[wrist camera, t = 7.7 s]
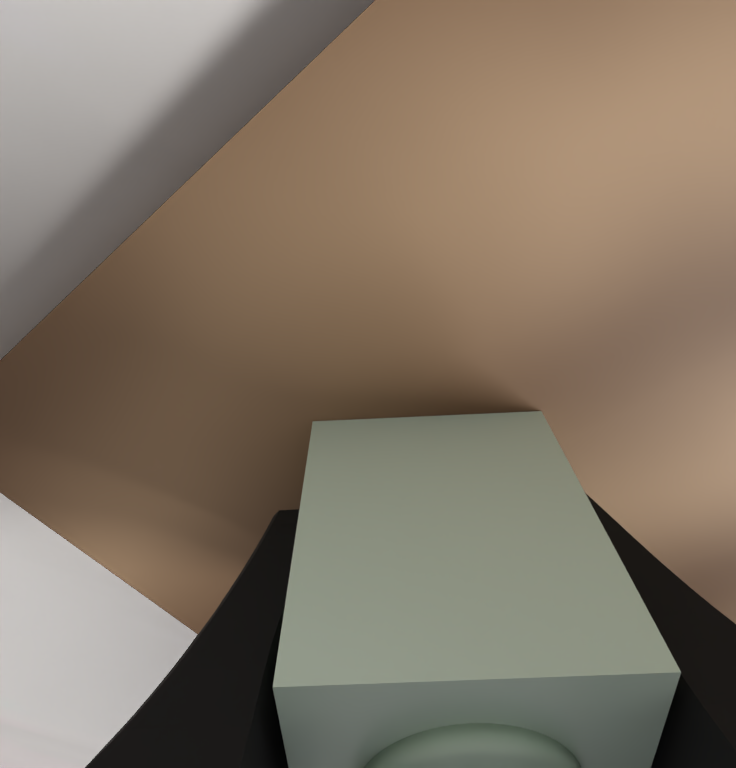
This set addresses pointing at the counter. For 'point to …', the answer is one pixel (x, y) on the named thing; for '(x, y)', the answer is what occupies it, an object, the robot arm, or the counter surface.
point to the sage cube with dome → (461, 606)
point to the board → (413, 290)
